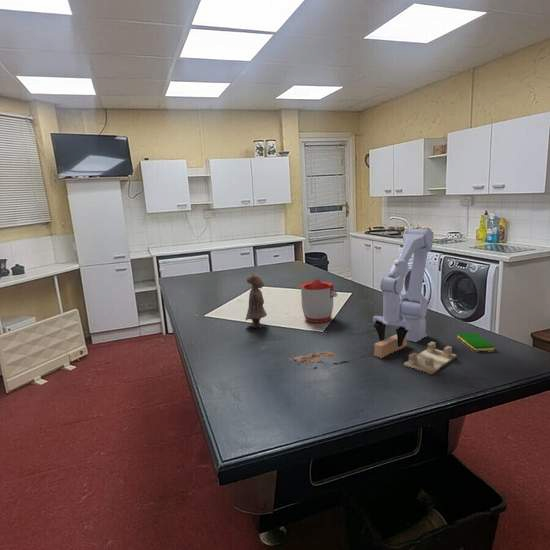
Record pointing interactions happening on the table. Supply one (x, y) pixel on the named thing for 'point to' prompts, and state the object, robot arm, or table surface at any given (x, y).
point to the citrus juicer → (317, 300)
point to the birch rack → (430, 358)
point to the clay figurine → (255, 301)
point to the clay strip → (388, 346)
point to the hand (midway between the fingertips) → (390, 343)
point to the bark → (314, 357)
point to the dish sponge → (475, 341)
